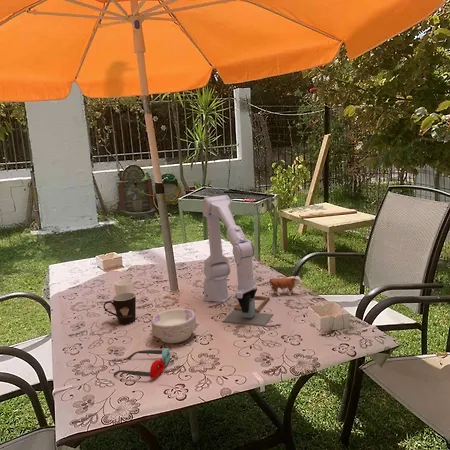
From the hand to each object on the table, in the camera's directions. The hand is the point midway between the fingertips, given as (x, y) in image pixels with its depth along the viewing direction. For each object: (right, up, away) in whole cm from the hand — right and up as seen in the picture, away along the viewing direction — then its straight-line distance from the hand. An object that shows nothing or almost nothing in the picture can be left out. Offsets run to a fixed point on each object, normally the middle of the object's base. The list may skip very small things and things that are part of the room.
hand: (247, 310), depth 173 cm
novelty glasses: (-33, -13, -30) cm, 46 cm away
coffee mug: (-47, -6, +7) cm, 48 cm away
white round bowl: (-25, -8, -11) cm, 29 cm away
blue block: (0, -2, 0) cm, 2 cm away
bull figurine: (+17, +2, +22) cm, 28 cm away
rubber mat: (0, -3, +1) cm, 3 cm away
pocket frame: (+3, 0, +13) cm, 14 cm away
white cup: (-49, -2, +24) cm, 55 cm away
